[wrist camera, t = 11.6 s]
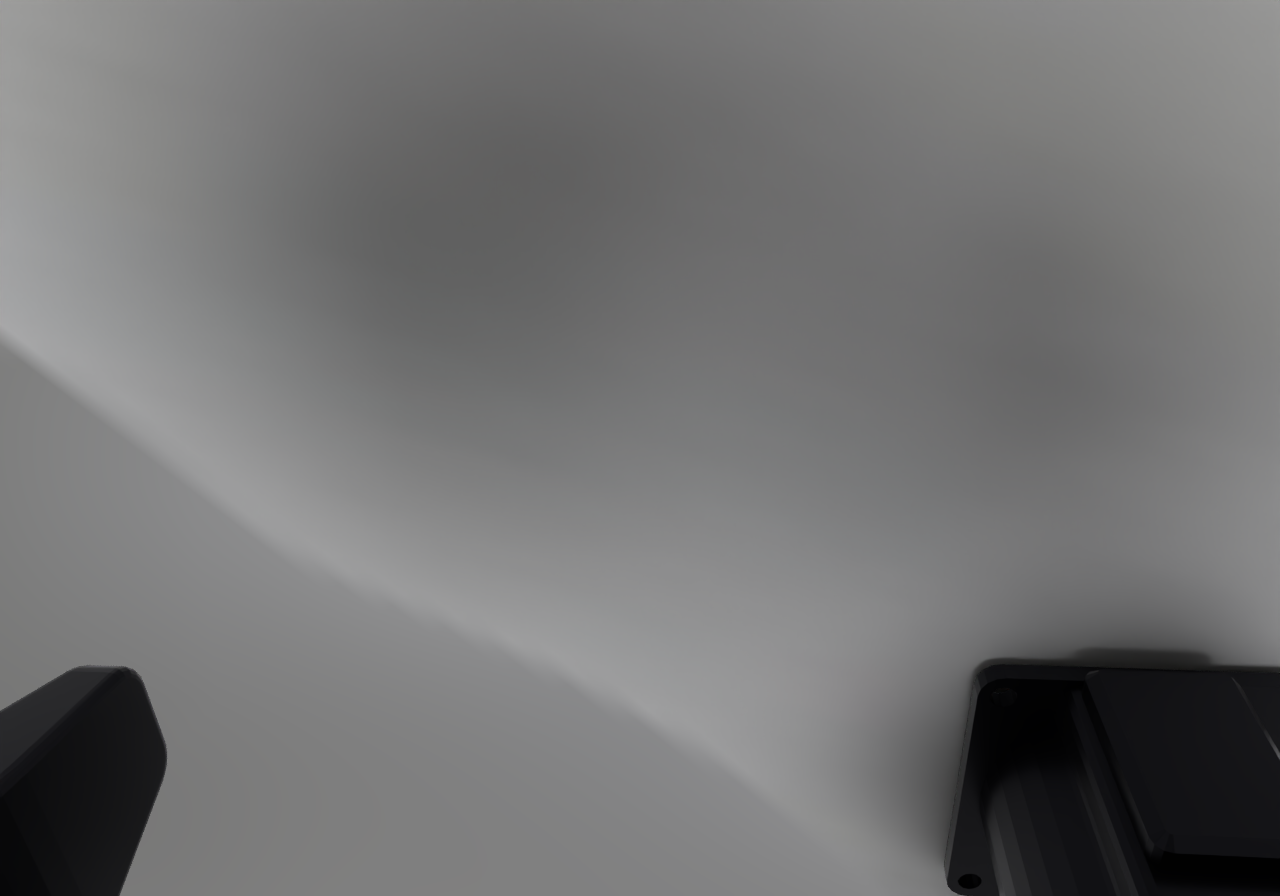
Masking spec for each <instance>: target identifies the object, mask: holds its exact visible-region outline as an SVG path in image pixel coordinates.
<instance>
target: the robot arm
mask: <svg viewBox="0 0 1280 896" xmlns="http://www.w3.org/2000/svg"><path fill="white" fill-rule="evenodd" d="M999 688H1009V690H1007V691H1005V692H1002V693H995V692H994V691H995V690H997V689H999ZM166 765H167V750H166V744H165V740H164V737H163V734H162V732H161V729H160V726H159V723H158V721H157V718H156V715H155V712H154V710H153V707H152V704H151V702H150V699H149V696H148V693H147V690H146V688H145V685H144V682H143V680H142V678H141V676H140V675H139V674H138V673H137V672H136V671H135V670H133V669H131V668H128V667H124V666H95V665H86V666H79V667H76V668H73V669H71V670H69V671H67V672H65V673H64V674H62V675H60V676H59V677H57V678H55V679H54V680H52V681H50V682H48V683H47V684H45V685H43V686H42V687H40V688H38V689H37V690H35V691H33V692H32V693H30V694H28V695H27V696H25V697H23V698H21V699H20V700H18V701H16V702H15V703H13V704H11V705H10V706H8V707H6V708H4V709H3V710H1V711H0V896H119V895H120V893H121V890H122V887H123V885H124V882H125V880H126V877H127V874H128V872H129V869H130V866H131V864H132V861H133V858H134V856H135V853H136V850H137V848H138V845H139V842H140V840H141V837H142V835H143V832H144V829H145V827H146V824H147V821H148V819H149V816H150V813H151V811H152V808H153V805H154V803H155V800H156V797H157V795H158V792H159V790H160V787H161V784H162V782H163V778H164V775H165V770H166ZM944 868H945V874H946V879H947V885H948V887H949V888H950V889H951V890H952V891H953V892H955V893H957V894H959V895H965V896H1280V673H1257V672H1226V671H1195V670H1163V669H1132V668H1100V667H1069V666H1037V665H1006V664H1002V665H993V666H990V667H988V668H986V669H983V670H982V671H981V672H980V673H979V674H978V675H977V676H976V679H975V681H974V684H973V690H972V696H971V703H970V709H969V715H968V721H967V727H966V733H965V739H964V746H963V752H962V758H961V764H960V770H959V776H958V782H957V789H956V795H955V801H954V807H953V813H952V819H951V825H950V832H949V838H948V844H947V850H946V856H945V862H944Z"/></svg>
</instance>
